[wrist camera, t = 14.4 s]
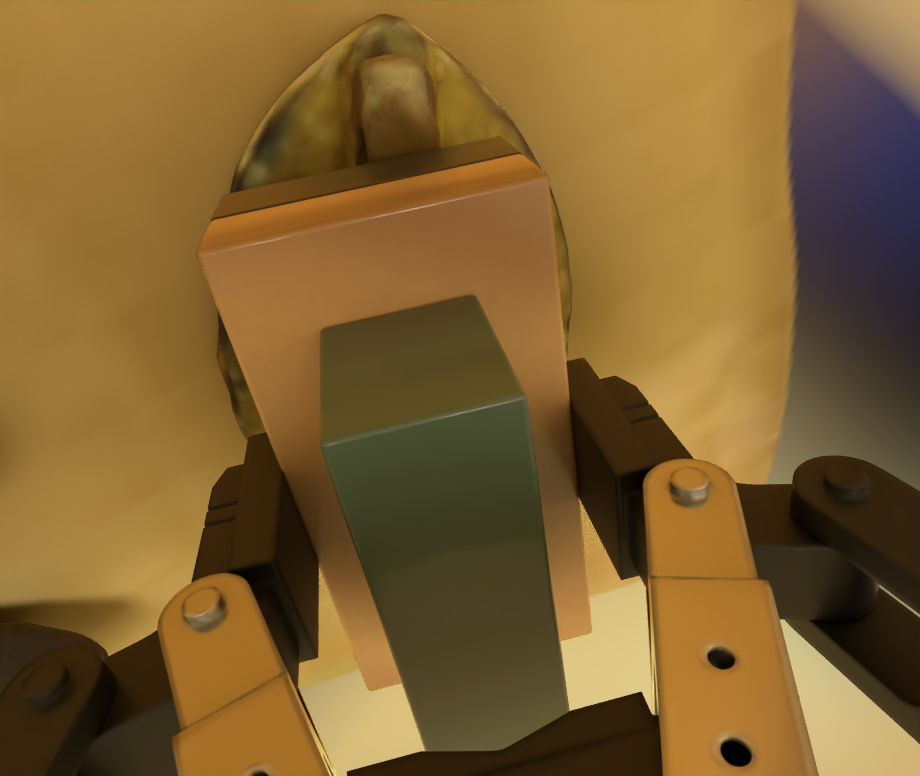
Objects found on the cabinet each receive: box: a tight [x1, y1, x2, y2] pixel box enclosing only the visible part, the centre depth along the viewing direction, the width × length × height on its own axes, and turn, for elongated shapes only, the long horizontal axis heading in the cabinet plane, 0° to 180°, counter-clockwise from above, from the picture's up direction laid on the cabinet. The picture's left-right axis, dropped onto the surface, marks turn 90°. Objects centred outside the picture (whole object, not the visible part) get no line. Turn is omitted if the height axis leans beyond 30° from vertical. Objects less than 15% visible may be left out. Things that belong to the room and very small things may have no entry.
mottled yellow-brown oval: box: [217, 14, 572, 441], centre depth 17 cm, size 9×5×15 cm
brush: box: [197, 136, 592, 751], centre depth 12 cm, size 10×5×6 cm, turn 10°
